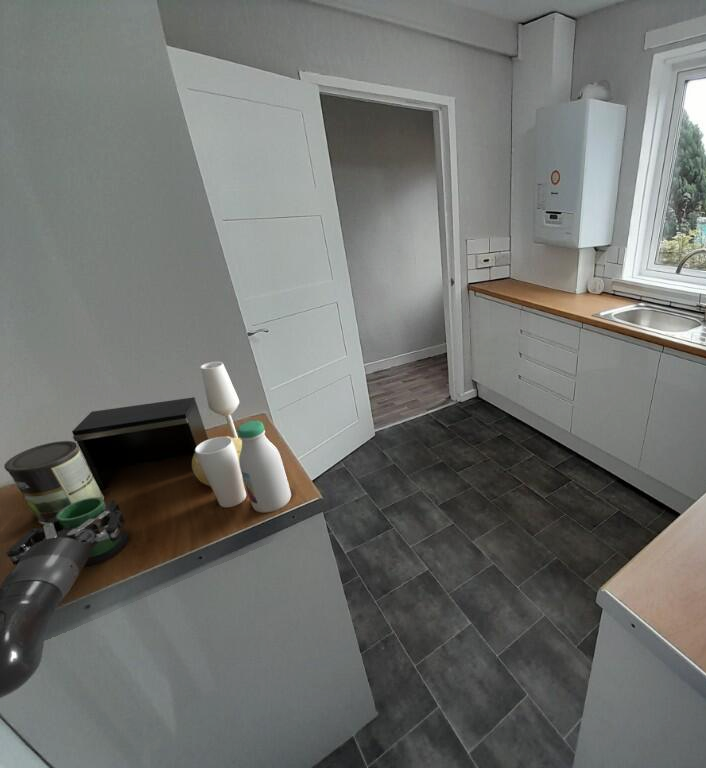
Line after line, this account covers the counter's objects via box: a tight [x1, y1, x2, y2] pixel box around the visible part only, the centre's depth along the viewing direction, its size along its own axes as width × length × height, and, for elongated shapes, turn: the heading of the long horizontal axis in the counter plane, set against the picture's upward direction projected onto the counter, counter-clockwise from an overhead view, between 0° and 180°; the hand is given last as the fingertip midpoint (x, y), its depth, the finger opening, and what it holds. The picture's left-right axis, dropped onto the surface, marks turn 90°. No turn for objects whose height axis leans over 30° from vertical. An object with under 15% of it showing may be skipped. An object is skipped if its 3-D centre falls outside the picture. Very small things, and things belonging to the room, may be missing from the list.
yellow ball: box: [191, 435, 243, 487], centre depth 97 cm, size 11×12×11 cm
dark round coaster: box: [84, 530, 130, 567], centre depth 78 cm, size 8×8×1 cm
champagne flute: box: [199, 361, 240, 438], centre depth 107 cm, size 7×7×24 cm
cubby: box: [71, 396, 209, 492], centre depth 99 cm, size 20×10×16 cm, turn 115°
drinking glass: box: [195, 436, 247, 508], centre depth 89 cm, size 7×7×15 cm
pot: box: [56, 497, 121, 558], centre depth 76 cm, size 6×6×9 cm
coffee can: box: [3, 440, 105, 526], centre depth 86 cm, size 10×10×14 cm
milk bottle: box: [236, 420, 292, 514], centre depth 88 cm, size 8×8×20 cm
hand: (90, 509), depth 77 cm, fingers closed on pot, 6 cm apart
